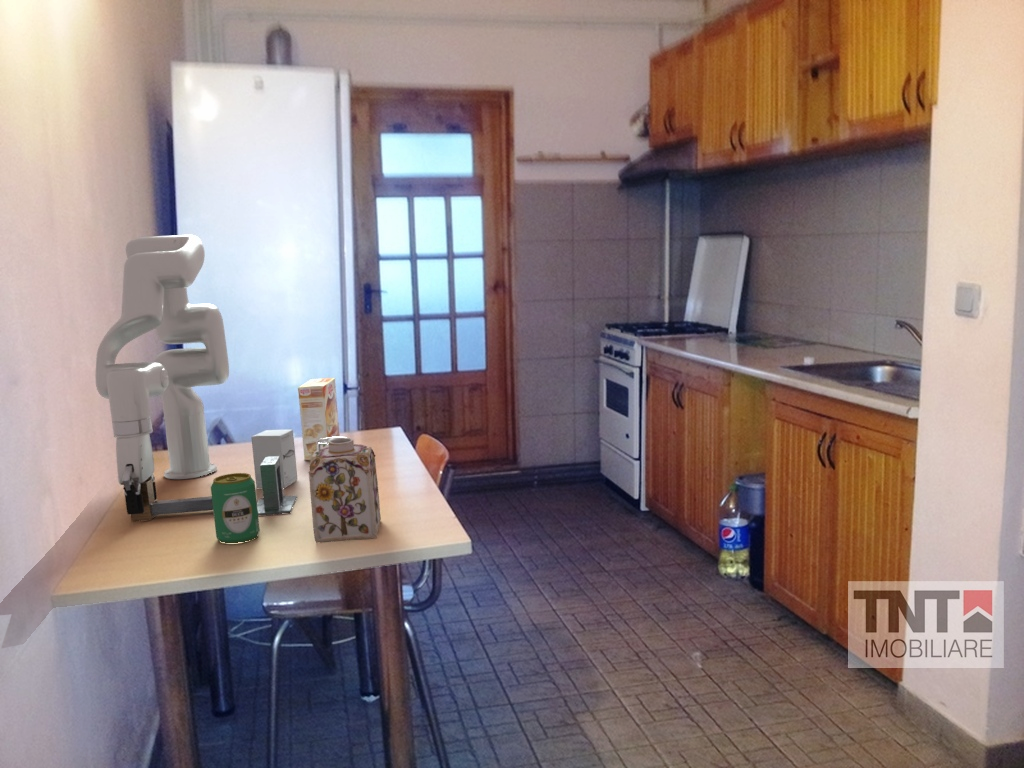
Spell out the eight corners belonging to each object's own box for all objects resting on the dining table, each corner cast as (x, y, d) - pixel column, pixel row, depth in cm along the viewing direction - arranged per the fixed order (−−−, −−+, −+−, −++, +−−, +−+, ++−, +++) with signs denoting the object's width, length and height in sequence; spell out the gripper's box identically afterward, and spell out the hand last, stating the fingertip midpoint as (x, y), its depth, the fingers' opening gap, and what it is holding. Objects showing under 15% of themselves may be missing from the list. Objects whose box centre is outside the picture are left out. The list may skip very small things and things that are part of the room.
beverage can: (219, 548, 165) (212, 485, 163) (214, 536, 172) (208, 476, 171) (263, 540, 168) (256, 479, 166) (257, 529, 176) (250, 470, 174)
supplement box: (285, 489, 205) (279, 435, 203) (255, 489, 206) (249, 436, 204) (298, 480, 212) (293, 428, 210) (270, 480, 213) (265, 429, 211)
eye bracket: (260, 500, 196) (255, 455, 194) (297, 497, 197) (292, 452, 195) (250, 516, 184) (245, 468, 182) (290, 513, 185) (285, 465, 183)
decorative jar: (322, 524, 176) (314, 435, 173) (381, 520, 177) (374, 431, 174) (313, 544, 164) (304, 449, 162) (377, 539, 165) (369, 444, 162)
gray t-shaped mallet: (136, 516, 189) (132, 479, 188) (252, 506, 192) (248, 470, 191) (131, 522, 185) (126, 484, 184) (249, 511, 188) (245, 474, 187)
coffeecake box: (330, 459, 232) (323, 385, 229) (303, 460, 232) (296, 387, 229) (342, 446, 246) (335, 377, 243) (316, 447, 247) (310, 378, 244)
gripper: (126, 420, 192) (136, 497, 195) (99, 437, 175) (110, 520, 178) (162, 418, 193) (171, 494, 196) (139, 434, 176) (149, 517, 179)
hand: (142, 506), depth 187 cm, fingers open, 9 cm apart
